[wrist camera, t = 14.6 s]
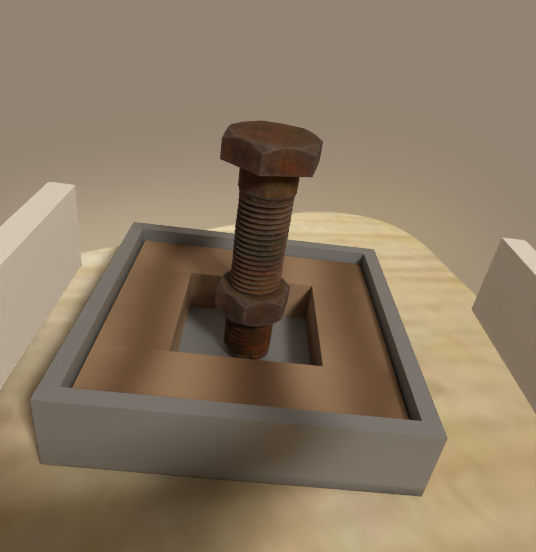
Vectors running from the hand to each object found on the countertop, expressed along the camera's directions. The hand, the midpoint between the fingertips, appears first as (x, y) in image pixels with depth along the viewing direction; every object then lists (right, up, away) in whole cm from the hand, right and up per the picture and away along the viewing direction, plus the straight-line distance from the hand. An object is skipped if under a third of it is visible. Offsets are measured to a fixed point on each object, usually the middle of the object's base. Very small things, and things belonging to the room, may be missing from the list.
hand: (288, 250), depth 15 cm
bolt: (-2, -6, +19) cm, 20 cm away
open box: (-2, -6, +19) cm, 20 cm away
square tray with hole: (-2, -6, +19) cm, 20 cm away
